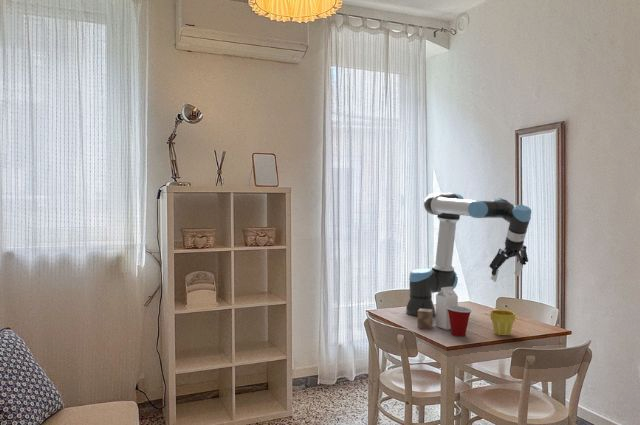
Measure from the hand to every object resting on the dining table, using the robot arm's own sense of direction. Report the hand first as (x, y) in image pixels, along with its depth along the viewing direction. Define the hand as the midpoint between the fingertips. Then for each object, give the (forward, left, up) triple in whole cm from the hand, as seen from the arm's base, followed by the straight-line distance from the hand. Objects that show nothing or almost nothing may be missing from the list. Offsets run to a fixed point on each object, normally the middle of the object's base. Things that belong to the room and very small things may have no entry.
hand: (505, 277), depth 219 cm
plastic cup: (-11, -25, -24) cm, 36 cm away
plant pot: (+3, -11, -24) cm, 27 cm away
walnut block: (-29, -23, -24) cm, 44 cm away
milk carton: (-21, -17, -24) cm, 36 cm away
